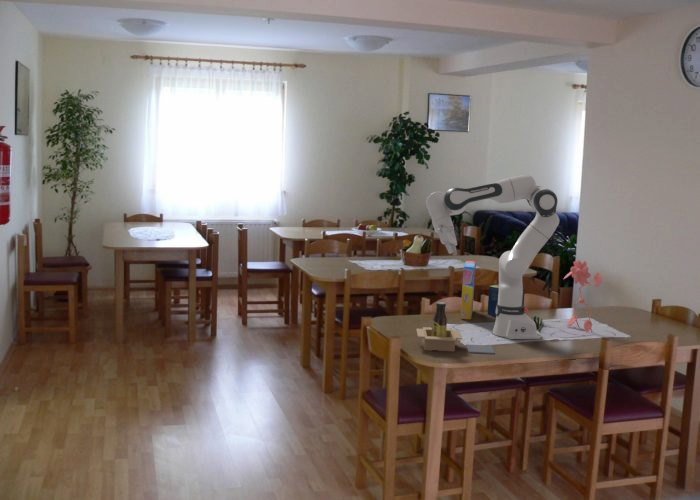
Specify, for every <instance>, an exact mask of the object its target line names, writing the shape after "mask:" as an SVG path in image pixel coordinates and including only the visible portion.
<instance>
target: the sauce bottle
mask: <svg viewBox="0 0 700 500" xmlns="http://www.w3.org/2000/svg"><path fill="white" fill-rule="evenodd" d="M446 304H447V302H444V301H437V302H436V304H435V306H436V307H435V309H436V310H435V313H434V316H433V318H432V322H431V323H432V324H431V325H432V327H431V328H432V336H436V337H446V328H448V327H447V326H448V324H447V323H448V322H447V320H448V317H447V315H446Z"/></svg>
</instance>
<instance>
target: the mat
mask: <svg viewBox="0 0 700 500" xmlns="http://www.w3.org/2000/svg"><path fill="white" fill-rule="evenodd" d="M465 347H466V350H467V352H468V354H486V355H487V354H488V355H495V354H496V353H495V351H494V348H493V347H492V345H489V344H488V345H486V344H468V343H467V344H466V343H465Z"/></svg>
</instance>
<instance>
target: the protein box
mask: <svg viewBox="0 0 700 500" xmlns="http://www.w3.org/2000/svg"><path fill="white" fill-rule="evenodd" d="M488 289H489V290H488V299H487V300H488V305H487V316H492V317H494V318H496V307H497V303H498V292H499V283H498V284H492V285H489V288H488ZM525 289H526V288H523V293H522V306H524V304H525V294H526V293H525V292H526V291H525ZM524 307H525V306H524Z"/></svg>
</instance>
